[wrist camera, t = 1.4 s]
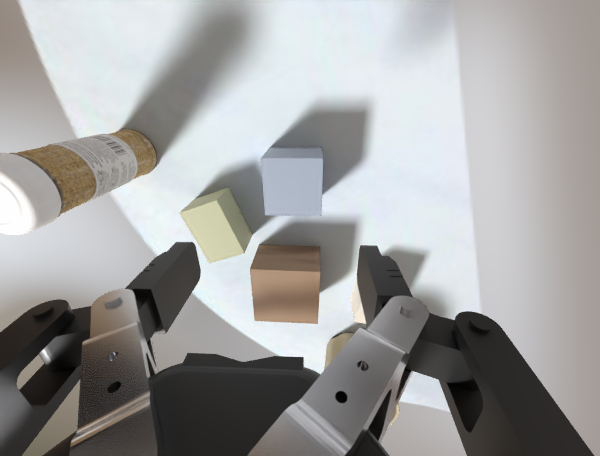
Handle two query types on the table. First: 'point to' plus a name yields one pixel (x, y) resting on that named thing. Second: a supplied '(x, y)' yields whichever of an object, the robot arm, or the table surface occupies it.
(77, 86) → the table surface
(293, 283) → the walnut block
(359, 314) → the cream block
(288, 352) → the table surface
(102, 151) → the sprinkles bottle
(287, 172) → the slate block
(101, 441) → the robot arm
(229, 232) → the olive block
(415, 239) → the table surface
